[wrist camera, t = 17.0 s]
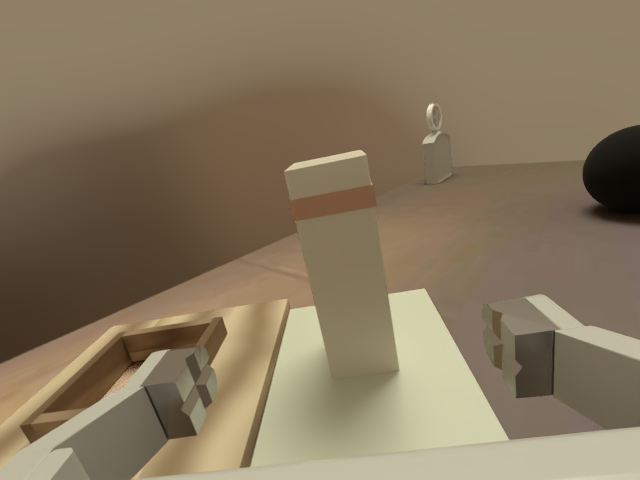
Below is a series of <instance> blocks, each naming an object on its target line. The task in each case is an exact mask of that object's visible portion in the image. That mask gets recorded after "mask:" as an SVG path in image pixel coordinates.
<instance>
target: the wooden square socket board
mask: <svg viewBox="0 0 640 480" xmlns="http://www.w3.org/2000/svg"><path fill="white" fill-rule="evenodd" d="M289 309H290V305H289V301H288V299H282V300H276V301H270V302H263V303H257V304H251V305H244V306H238V307H232V308H226V309H219V310H213V311H207V312H201V313H194V314H188V315H182V316H176V317H169V318H163V319H157V320H150V321H144V322H138V323H132V324H125V325H119V326H113V327H111V328H110V329H109V330H108V331H107V332H106V333H105V334H103V335H102V336H101V337H100V338H99V339H98V340H97V341H95V342H94V343H93V344H92V345H91V346H90V347H89V348H87V349H86V350H85V351H84V352H83V353H82V354H81V355H80V356H78V357H77V358H76V359H75V360H74V361H73V362H72V363H70V364H69V365H68V366H67V367H66V368H65V369H64V370H62V371H61V372H60V373H59V374H58V375H57V376H56V377H55V378H53V379H52V380H51V381H50V382H49V383H48V384H47V385H45V386H44V387H43V388H42V389H41V390H40V391H39V392H37V393H36V394H35V395H34V396H33V397H32V398H31V399H29V400H28V401H27V402H26V403H25V404H24V405H23V406H22V407H20V408H19V409H18V410H17V411H16V412H15V413H14V414H12V415H11V416H10V417H9V418H8V419H7V420H6V421H4V422H3V423H2V424H1V425H0V470H1V469H2V468H3V467H4V466H5V465H6V464H7V463H8V462H9V461H10V460H11V459H12V458H13V457H14V456H15V455H16V454H17V453H18V452H19V451H21V450H22V449H24V448H26V447H27V446H29V445H30V444H32V443H33V442H35V441H37V440H38V439H40V438H41V437H43V436H45V435H46V434H48V433H49V432H51V431H52V430H54V429H56V428H57V427H59V426H60V425H62V424H64V423H65V422H67V421H68V420H70V419H71V418H73V417H75V416H76V415H78V414H79V413H81V412H83V411H84V410H86V409H87V408H89V407H90V406H92V405H94V404H95V403H97V402H98V401H99V400H100V399H101V398H102V397H103V396H104V395H105V393H106V392H107V391H108V390H109V389H110V388H111V387H112V385H113V384H114V383H115V382H116V381H117V380H118V379H119V377H120V376H121V375H122V374H123V373H124V372H125V371H126V369H127V368H128V367H129V366H130V365H131V364H132V363H133V362H136V361H143V360H146V359H147V358H148V357H149V356H150V355H151V353H153V352H156V351H162V350H168V349H170V350H171V349H176V348H184V347H192V346H200V345H202V346H204V347H205V348H206V350H207V352H208V354H209V359H208V362H207V364H208V365H209V366H211V367H212V368H213V369H214V371H215V374H216V377H217V391H216V396H215V398H214V400H213V402H212V403H211V404H210V405H209V406H208V407H207V408H206V409H205V411H206V414H207V416H206V418H205V420H204V422H203V425H202V427H201V429H200V431H199V433H198V435H197V436H190V437H183V438H177V439H170V440H168V442H167V443H166V444H165V445H164V446H163V447H162V448H161V449H160V450H159V451H158V452H157V453H156V455H155V456H154V457H153V458H152V459H151V460H150V461H149V462H148V463H147V464H146V465H145V466H144V467H143V468H142V469H141V470H140V471H139V472H138V473H137V474H136V475H135V476H134V477H133V478H132V479H140V478H149V477H159V476H169V475H178V474H188V473H198V472H207V471H217V470H227V469H236V468H246V467H249V463H250V459H251V455H252V451H253V447H254V444H255V440H256V436H257V432H258V428H259V424H260V421H261V417H262V413H263V409H264V405H265V401H266V397H267V394H268V390H269V386H270V382H271V378H272V374H273V371H274V367H275V363H276V359H277V355H278V351H279V347H280V344H281V340H282V336H283V332H284V328H285V324H286V321H287V317H288V313H289Z"/></svg>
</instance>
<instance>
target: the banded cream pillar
mask: <svg viewBox="0 0 640 480" xmlns="http://www.w3.org/2000/svg"><path fill="white" fill-rule="evenodd" d="M284 174H285V178H286V183H287V187H288V191H289V196H290V200H289V205H290V209H291V213H292V218H293V221H296V226H297V230H298V234H299V239H300V243H301V247H302V252H303V256H304V260H305V264H306V269H307V273H308V277H309V282H310V286H311V290H312V294H313V299H314V303H315V307H316V312H317V316H318V320H319V325H320V329H321V333H322V337H323V342H324V346H325V350H326V355H327V359H328V363H329V367H330V372H331V376H332V379H339V378H346V377H354V376H362V375H370V374H378V373H386V372H394V371H400V369H399V363H398V356H397V350H396V343H395V337H394V330H393V324H392V317H391V311H390V304H389V298H388V291H387V285H386V278H385V271H384V265H383V258H382V252H381V245H380V239H379V232H378V226H377V219H376V213H375V206H376V200H375V193H374V186H373V184H372V182H371V180H370V174H369V167H368V161H367V155H366V154H365V153H364V152H363V151H361V150H358V151H353V152H348V153H343V154H338V155H333V156H328V157H323V158H319V159H314V160H309V161H304V162H299V163H294V164H293V165H292V166H290V167H289V168H288V169H287V170H285V171H284Z"/></svg>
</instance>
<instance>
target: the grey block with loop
mask: <svg viewBox="0 0 640 480" xmlns="http://www.w3.org/2000/svg"><path fill="white" fill-rule="evenodd" d="M427 123H428V126H429V128H430V130H432V133H431V134H430V135H428V136H427V137H426V138H425V139H424V141H423V144H422V145H423V155H424V164H425V174H426V184H438V183H440V182H442V181H443V180H445V179H447V178H448V177H450V176H452V175H453V172H452V159H451V146H450V136H449V135H448V134H447V133H446V132H439V129H440V127H441V123H442V113H441V109H440V106H439V105H438V104H437V102H436V101H433V102H430V105H429V106H428V109H427Z"/></svg>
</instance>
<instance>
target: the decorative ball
mask: <svg viewBox="0 0 640 480" xmlns="http://www.w3.org/2000/svg"><path fill="white" fill-rule="evenodd" d="M583 182H584V185H585V187H586V189H587V191H588V192H589V194H590V195H591V196H592V197H593V198H594V199H595V200H597V201H598V202H599V203H601V204H603V205H605V206H607V207H610V208H613V209H616V210H621V211H640V125H637V126H632V127H628V128H625V129H622V130H620V131H617V132H615V133H613V134H611V135H609V136H608V137H606V138H605V139H603V140H602V141H601V142H599V143H598V144H597V145H596V146H595V147H594V148H593V149H592V151H591V152H590V153H589V155H588V157H587V159H586V161H585V163H584V167H583Z"/></svg>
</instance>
